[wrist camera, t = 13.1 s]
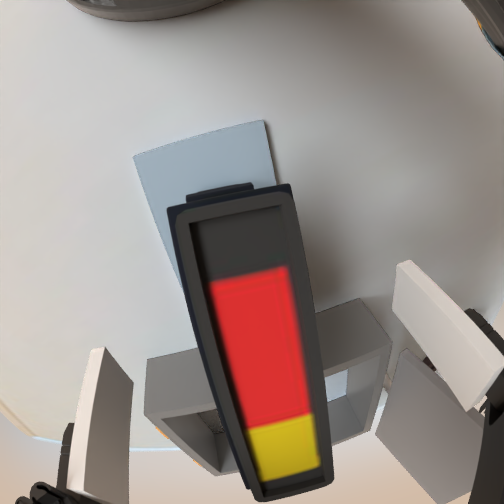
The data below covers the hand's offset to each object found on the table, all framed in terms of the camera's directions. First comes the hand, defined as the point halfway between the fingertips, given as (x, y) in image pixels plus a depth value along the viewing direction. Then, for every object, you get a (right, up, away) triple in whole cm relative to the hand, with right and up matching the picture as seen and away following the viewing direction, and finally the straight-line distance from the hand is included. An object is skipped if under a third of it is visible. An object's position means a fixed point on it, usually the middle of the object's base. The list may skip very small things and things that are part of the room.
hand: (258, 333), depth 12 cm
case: (+4, -11, +17) cm, 21 cm away
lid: (+16, -14, +6) cm, 22 cm away
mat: (-2, +4, +8) cm, 9 cm away
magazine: (-2, +4, +8) cm, 9 cm away
